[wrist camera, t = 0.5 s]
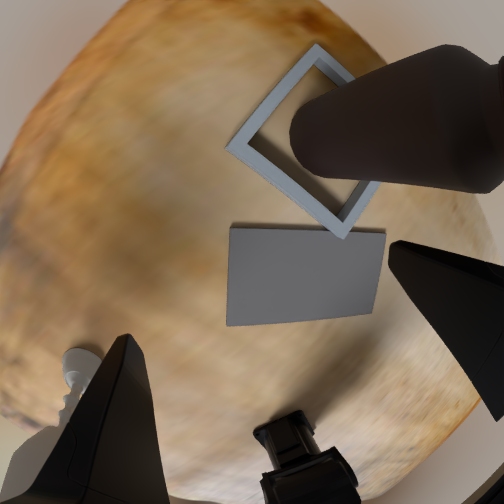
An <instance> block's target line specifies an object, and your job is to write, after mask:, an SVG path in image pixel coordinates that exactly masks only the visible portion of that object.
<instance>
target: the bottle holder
mask: <svg viewBox="0 0 504 504" xmlns="http://www.w3.org/2000/svg"><path fill="white" fill-rule="evenodd" d="M313 64H314V65H315V66H316V67H317V68H318V69H319V70H321V71H322V72H323V73H324V74H325V75H326V76H327V77H329V78H330V79H331V80H332V81H333V82H334V83H335V84H336V85H337V86H338V87H340V86H342V85H344V84H346V83H348V82H350V81H352V80H354V79H355V78H354V77H353V76H352V75H351V74H350V73H349V72H348V71H347V70H346V69H345V68H344V67H343V66H342V65H341V64H340V63H338V62H337V61H336V60H335V59H334V58H333V57H332V56H331V55H329V54H328V53H327V52H326V51H325V50H324V49H322V48H321V47H320V46H319V45H318V44H315V45H314V46H312V47H311V48H310V49H309V50H308V51H307V52H306V53H305V54H304V55H303V56H302V57H301V58H300V59H299V61H298V62H297V63H296V64H295V65H294V66H293V67H292V68H291V69H290V70H289V71H288V73H287V74H286V75H285V76H284V77H283V78H282V79H281V80H280V81H279V83H278V84H277V85H276V86H275V87H274V88H273V89H272V91H271V92H270V93H269V94H268V95H267V96H266V98H265V99H264V100H263V101H262V102H261V103H260V105H259V106H258V107H257V108H256V109H255V111H254V112H253V113H252V114H251V116H250V117H249V118H248V119H247V120H246V122H245V123H244V124H243V125H242V127H241V128H240V129H239V130H238V132H237V133H236V134H235V136H234V137H233V138H232V139H231V141H230V142H229V143H228V145H227V146H226V147H225V148H224V149H226V150H227V151H229V152H230V153H231V154H233V155H234V156H235V157H237V158H238V159H239V160H241V161H242V162H244V163H245V164H246V165H248V166H249V167H250V168H252V169H253V170H254V171H255V172H257V173H258V174H259V175H261V176H262V177H263V178H265V179H266V180H267V181H269V182H270V183H271V184H272V185H274V186H275V187H276V188H278V189H279V190H280V191H281V192H283V193H284V194H285V195H286V196H288V197H289V198H290V199H291V200H293V201H294V202H295V203H296V204H298V205H299V206H300V207H301V208H302V209H304V210H305V211H306V212H307V213H309V214H310V215H311V216H312V217H313V218H315V219H316V220H317V221H318V222H319V223H321V224H322V225H323V226H324V227H325V228H327V229H328V230H329V231H331V232H332V233H334V234H335V235H336V236H337V237H339V238H341V239H345V237H346V236H347V234H348V233H349V231H350V230H351V228H352V227H353V225H354V224H355V222H356V221H357V219H358V218H359V216H360V215H361V213H362V212H363V210H364V209H365V207H366V206H367V204H368V203H369V201H370V199H371V198H372V196H373V195H374V193H375V192H376V190H377V188H378V187H379V185H380V184H381V182H377V181H365V180H361V181H360V182H359V184H358V185H357V187H356V189H355V190H354V192H353V193H352V195H351V196H350V198H349V199H348V201H347V202H346V203H345V205H344V206H343V208H342V209H341V211H340V212H339V214H338V215H337V217H336V216H334V215H333V214H332V213H331V212H330V211H329V210H328V209H327V208H325V207H324V206H323V205H322V204H321V203H320V202H318V201H317V200H316V199H315V198H314V197H313V196H311V195H310V194H309V193H308V192H307V191H306V190H304V189H303V188H302V187H301V186H300V185H298V184H297V183H296V182H295V181H294V180H292V179H291V178H290V177H289V176H287V175H286V174H285V173H284V172H283V171H281V170H280V169H279V168H278V167H276V166H275V165H274V164H272V163H271V162H270V161H269V160H267V159H266V158H265V157H264V156H262V155H261V154H260V153H258V152H257V151H256V150H254V149H253V148H252V147H250V146H249V145H248V144H247V143H248V142H249V140H250V139H251V138H252V137H253V135H254V134H255V133H256V132H257V130H258V129H259V128H260V126H261V125H262V124H263V123H264V121H265V120H266V119H267V118H268V116H269V115H270V114H271V113H272V112H273V110H274V109H275V108H276V107H277V106H278V104H279V103H280V102H281V101H282V100H283V98H284V97H285V96H286V95H287V94H288V92H289V91H290V90H291V89H292V88H293V87H294V85H295V84H296V83H297V82H298V81H299V80H300V78H301V77H302V76H303V75H304V74H305V73H306V72H307V70H308V69H309V68H310V67H311V66H312V65H313Z"/></svg>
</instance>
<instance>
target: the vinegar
mask: <svg viewBox="0 0 504 504" xmlns="http://www.w3.org/2000/svg"><path fill="white" fill-rule="evenodd" d="M289 134H290V145H291V147H292V150H293V153H294V155H295V157H296V158H297V160H298V161H299V162H300V164H301V165H302V166H303V167H304V168H305V169H307V170H308V171H310V172H311V173H312V174H314V175H317V176H320V177H323V178H334V179H351V180H365V181H377V182H388V183H399V184H408V185H417V186H425V187H433V188H440V189H447V190H454V191H461V192H467V193H479V194H481V193H483V194H487V193H490V192H491V191H492V190H494V189H495V188H496V187H497V186H498V185H500V184H501V183H502V182H503V181H504V56H502V57H501V59H500V60H499V64H495V65H489V64H488V63H487V62H485V61H483V60H482V59H481V58H479V57H478V56H476V55H475V54H473V53H471V52H470V51H468V50H467V49H465V48H463V47H461V46H456V45H447V44H445V45H441V46H437V47H435V48H431V49H428V50H426V51H423V52H420V53H417V54H414V55H412V56H409V57H407V58H404V59H401V60H399V61H397V62H394V63H391V64H389V65H386V66H384V67H382V68H379V69H377V70H375V71H372V72H370V73H368V74H365V75H363V76H361V77H359V78H357V79H354V80H352V81H350V82H348V83H346V84H344V85H342V86H340V87H338V88H336V89H334V90H332V91H330V92H328V93H326V94H324V95H322V96H320V97H318V98H316V99H314V100H312V101H310V102H308V103H307V104H305V105H304V106H303V107H301V108H300V109H299V110H298V111H297V113H296V114H295V116H294V118H293V119H292V122H291V127H290V131H289Z"/></svg>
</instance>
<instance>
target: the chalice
mask: <svg viewBox="0 0 504 504" xmlns="http://www.w3.org/2000/svg"><path fill="white" fill-rule="evenodd" d="M101 362H102V360H101V359H100V358H99V357H98V356H96V355H95V354H94V353H92V352H90V351H87V350H85V349H80V348H74V349H70V350H68V351H67V352H65V354H64V355H63V359H62V364H63V377H64V380H65V382H66V383H67V385H68V386H69V387H70V388H71V392H70V394H68V395H65V396H64V397H63V400H64V402H65V408H64V409H63V410H60V411H59V417H60V421H59V425H58V427H55V426H48V427H46V428H44V429H43V430H41V431H40V432H38V433H37V434H35V435H34V436H32V437H31V438H29V439H28V440H27V441H25V442H24V443H23V444H22V445H21V446H20V447H19V448H18V449H17V450H16V451H15V452H14V454H13V456H12V458H11V461H10V464H9V467H8V470H7V473H6V476H5V480H4V483H3V486H2V490H1V493H0V502H3V501H5V500H8V499H11V498H13V497H16V496H18V495H20V494H22V493H24V492H25V491H26V490H27V489H28V488H29V487H30V486H31V485H32V483H33V482H34V480H35V478H36V477H37V475H38V473H39V471H40V470H41V468H42V466H43V465H44V463H45V461H46V460H47V458H48V457H49V455H50V453H51V451H52V450H53V448H54V446H55V445H56V443H57V441H58V439H59V437H60V435H61V434H62V432H63V430H64V428H65V426H66V424H67V422H69V419H70V417H71V415H72V413H73V411H74V409H75V408H76V406H77V404H78V402H79V395H80V394H82V395H83V393H84V391H85V390H86V388H87V386H88V385H89V383H90V381H91V379H92V378H93V376H94V374H95V373H96V371H97V369H98V367H99V366H100V364H101Z"/></svg>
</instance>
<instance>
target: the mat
mask: <svg viewBox="0 0 504 504" xmlns="http://www.w3.org/2000/svg"><path fill="white" fill-rule="evenodd" d="M386 235H387V234H386V233H375V232H354V231H349V233H348V234H347V236H346V237H345V239H341V238H339V237H337V236H336V235H335V234H334V233H332V232H331V231H329V230H304V229H271V228H230V236H229V258H228V284H227V314H226V325H227V326H247V325H263V324H277V323H290V322H301V321H312V320H321V319H331V318H339V317H347V316H355V315H363V314H370V313H372V309H373V305H374V301H375V296H376V291H377V287H378V282H379V277H380V271H381V266H382V260H383V254H384V248H385V241H386Z"/></svg>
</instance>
